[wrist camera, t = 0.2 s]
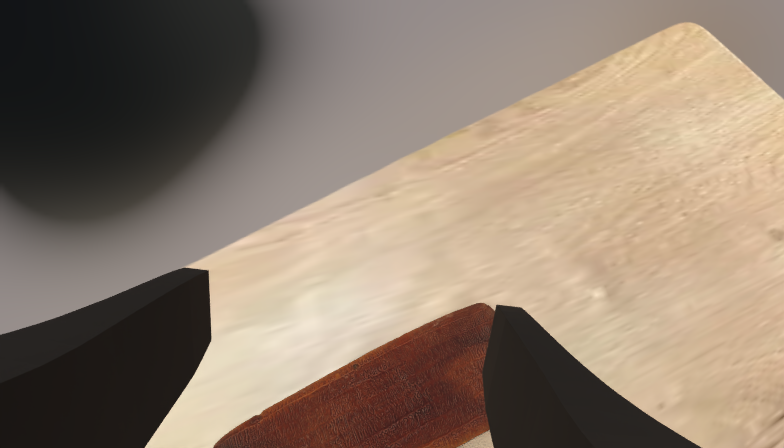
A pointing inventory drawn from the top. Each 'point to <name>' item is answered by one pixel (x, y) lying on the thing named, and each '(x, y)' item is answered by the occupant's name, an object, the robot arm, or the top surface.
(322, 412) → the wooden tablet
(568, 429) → the robot arm
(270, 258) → the top surface
